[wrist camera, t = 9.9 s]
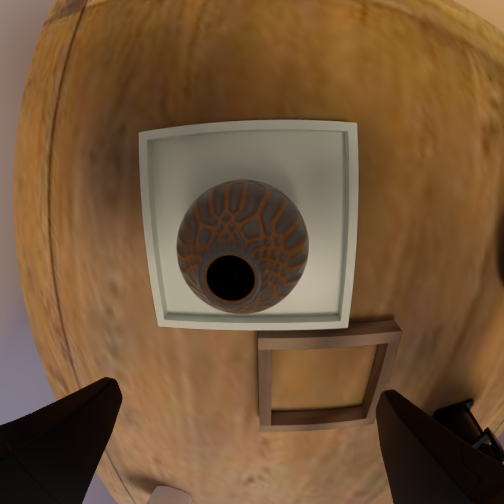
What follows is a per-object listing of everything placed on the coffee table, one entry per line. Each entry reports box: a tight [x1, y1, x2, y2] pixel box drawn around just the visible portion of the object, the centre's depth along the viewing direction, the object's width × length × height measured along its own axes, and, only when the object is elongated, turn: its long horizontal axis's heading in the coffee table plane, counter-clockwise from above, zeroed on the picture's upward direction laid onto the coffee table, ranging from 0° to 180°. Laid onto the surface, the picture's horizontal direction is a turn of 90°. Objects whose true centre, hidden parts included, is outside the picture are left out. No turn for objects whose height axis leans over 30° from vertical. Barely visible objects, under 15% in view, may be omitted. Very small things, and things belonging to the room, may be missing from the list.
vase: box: [176, 179, 309, 314], centre depth 14 cm, size 7×7×9 cm
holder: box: [258, 320, 402, 432], centre depth 21 cm, size 11×11×2 cm
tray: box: [139, 120, 358, 330], centre depth 18 cm, size 14×14×2 cm
